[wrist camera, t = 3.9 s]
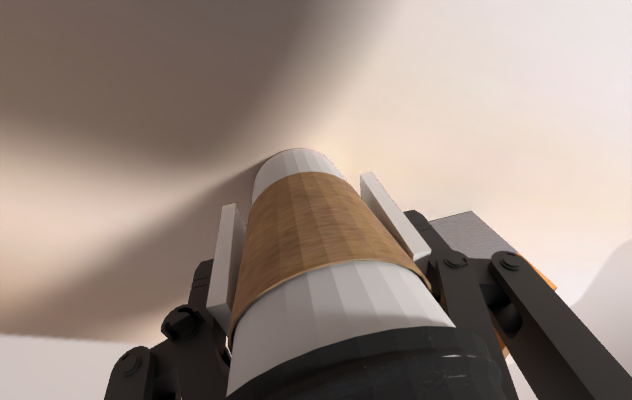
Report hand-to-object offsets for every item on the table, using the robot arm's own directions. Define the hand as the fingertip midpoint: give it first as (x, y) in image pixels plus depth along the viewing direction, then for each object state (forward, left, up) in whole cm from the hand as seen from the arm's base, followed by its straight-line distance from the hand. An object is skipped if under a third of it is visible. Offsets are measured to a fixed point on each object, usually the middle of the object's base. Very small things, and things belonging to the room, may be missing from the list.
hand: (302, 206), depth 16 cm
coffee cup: (0, 0, -2) cm, 2 cm away
